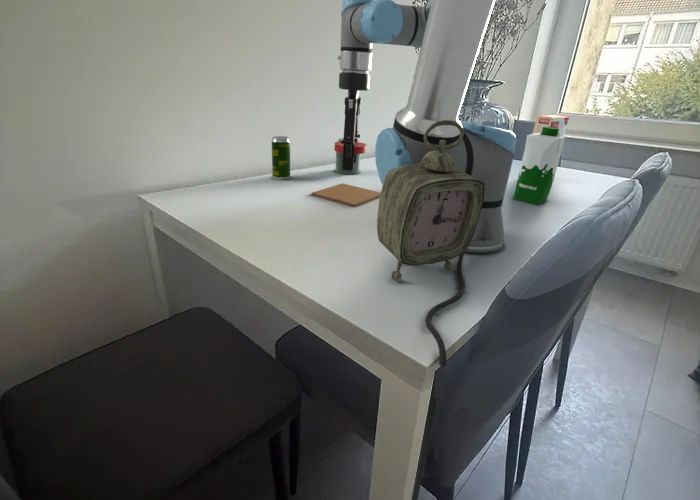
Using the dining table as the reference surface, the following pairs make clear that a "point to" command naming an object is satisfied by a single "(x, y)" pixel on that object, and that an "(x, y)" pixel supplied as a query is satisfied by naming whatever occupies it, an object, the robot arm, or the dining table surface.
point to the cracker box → (551, 123)
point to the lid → (359, 149)
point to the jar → (340, 163)
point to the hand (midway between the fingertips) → (349, 165)
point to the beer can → (281, 157)
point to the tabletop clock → (429, 208)
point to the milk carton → (539, 165)
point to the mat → (347, 194)
